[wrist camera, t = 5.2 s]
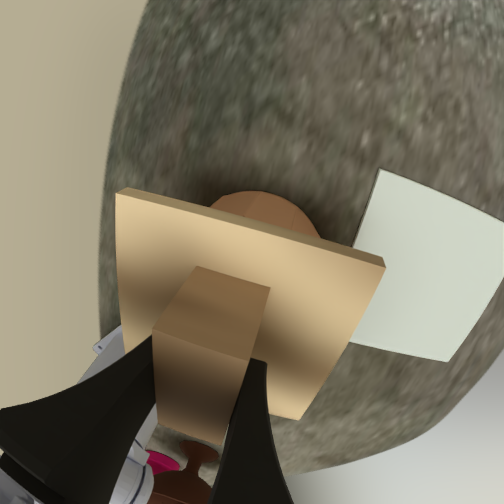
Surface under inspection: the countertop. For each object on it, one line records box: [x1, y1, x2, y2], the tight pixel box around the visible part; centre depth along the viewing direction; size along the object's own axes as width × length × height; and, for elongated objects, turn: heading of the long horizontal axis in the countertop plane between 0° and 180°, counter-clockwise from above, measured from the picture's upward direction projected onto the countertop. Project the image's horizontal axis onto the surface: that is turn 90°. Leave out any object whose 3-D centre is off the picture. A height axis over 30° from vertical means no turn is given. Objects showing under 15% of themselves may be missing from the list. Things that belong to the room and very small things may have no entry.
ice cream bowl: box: [147, 441, 219, 504], centre depth 27 cm, size 11×11×15 cm
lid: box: [116, 187, 386, 446], centre depth 11 cm, size 10×10×4 cm
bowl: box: [209, 190, 320, 238], centre depth 17 cm, size 8×8×4 cm
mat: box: [349, 168, 504, 362], centre depth 17 cm, size 12×12×1 cm
